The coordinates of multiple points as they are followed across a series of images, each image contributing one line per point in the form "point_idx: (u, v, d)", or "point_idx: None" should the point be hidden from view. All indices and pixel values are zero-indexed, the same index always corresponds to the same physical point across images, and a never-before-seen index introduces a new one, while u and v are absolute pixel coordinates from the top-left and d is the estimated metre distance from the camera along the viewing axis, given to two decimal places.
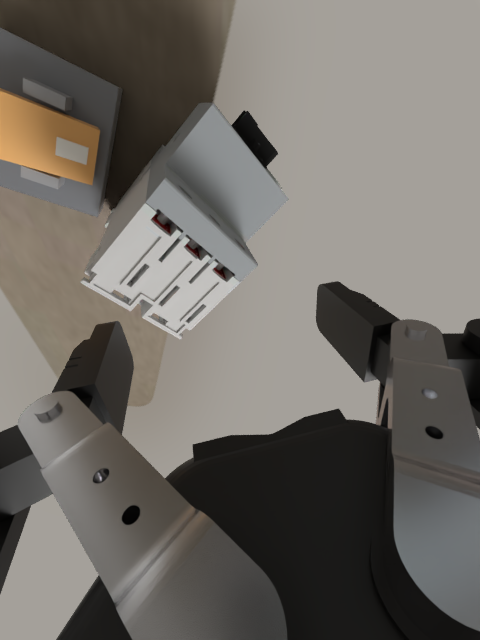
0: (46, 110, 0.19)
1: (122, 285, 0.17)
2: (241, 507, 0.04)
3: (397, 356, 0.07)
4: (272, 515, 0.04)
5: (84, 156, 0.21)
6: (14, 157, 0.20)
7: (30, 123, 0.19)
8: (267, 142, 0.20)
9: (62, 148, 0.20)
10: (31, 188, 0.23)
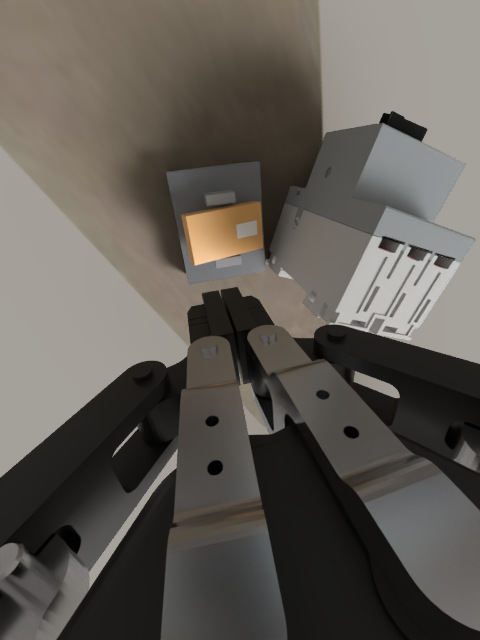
0: (225, 209, 0.23)
1: (359, 313, 0.19)
2: None
3: (270, 367, 0.07)
4: (271, 515, 0.04)
5: (255, 228, 0.25)
6: (214, 256, 0.24)
7: (219, 225, 0.23)
8: (416, 126, 0.21)
9: (241, 230, 0.24)
10: (216, 273, 0.28)
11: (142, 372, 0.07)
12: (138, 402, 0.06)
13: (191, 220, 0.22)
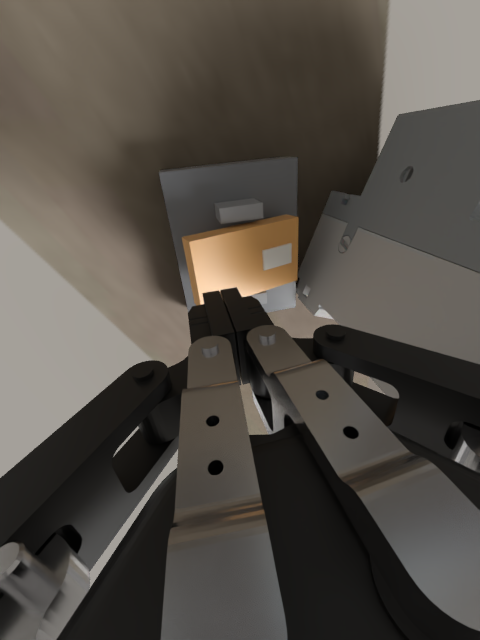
0: (248, 228, 0.16)
1: None
2: None
3: (270, 368, 0.07)
4: (272, 515, 0.04)
5: (288, 254, 0.17)
6: None
7: (239, 252, 0.16)
8: None
9: (269, 259, 0.17)
10: None
11: (143, 372, 0.07)
12: (139, 402, 0.06)
13: (197, 247, 0.14)
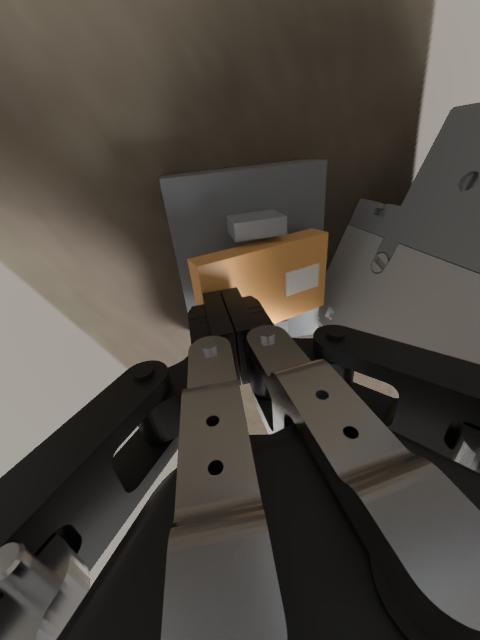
0: (269, 248, 0.13)
1: None
2: None
3: (270, 368, 0.07)
4: (272, 515, 0.04)
5: (315, 276, 0.14)
6: None
7: (257, 276, 0.13)
8: None
9: (293, 283, 0.14)
10: None
11: (142, 372, 0.07)
12: (139, 402, 0.06)
13: (207, 273, 0.12)
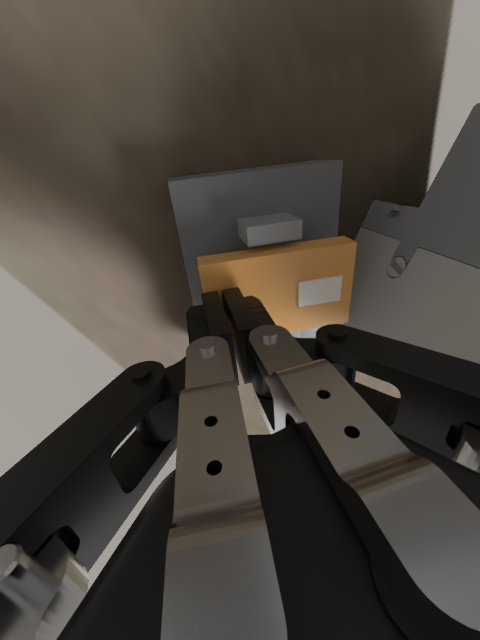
0: (281, 253, 0.12)
1: None
2: None
3: (271, 367, 0.07)
4: (271, 515, 0.04)
5: (337, 289, 0.13)
6: None
7: (264, 282, 0.12)
8: None
9: (307, 294, 0.13)
10: None
11: (140, 373, 0.07)
12: (137, 403, 0.06)
13: (209, 273, 0.12)
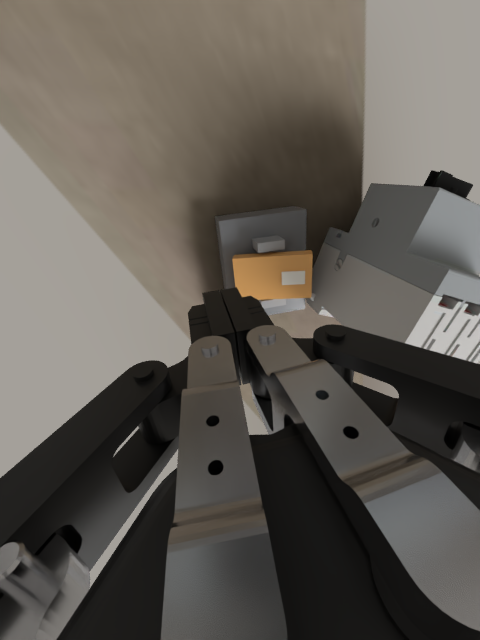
0: (273, 256, 0.24)
1: None
2: None
3: (269, 367, 0.07)
4: (271, 515, 0.04)
5: (302, 278, 0.25)
6: (256, 296, 0.26)
7: (264, 270, 0.25)
8: (463, 183, 0.22)
9: (286, 278, 0.25)
10: None
11: (143, 372, 0.07)
12: (139, 402, 0.06)
13: (237, 262, 0.25)
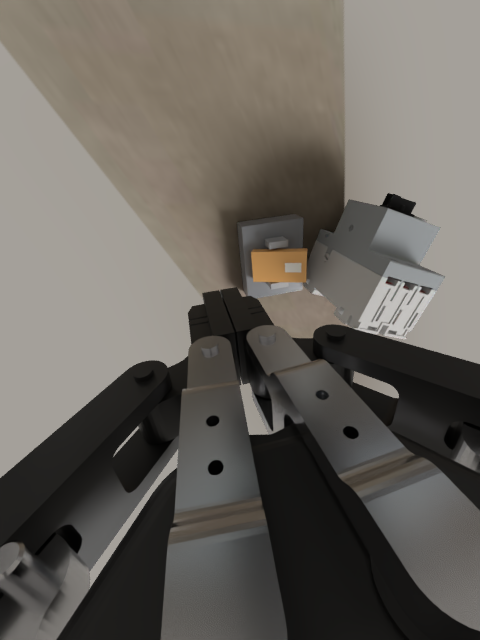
0: (279, 251, 0.35)
1: (372, 322, 0.31)
2: None
3: (269, 368, 0.07)
4: (272, 515, 0.04)
5: (299, 268, 0.35)
6: (267, 279, 0.37)
7: (272, 261, 0.35)
8: (409, 201, 0.32)
9: (288, 267, 0.35)
10: (268, 292, 0.40)
11: (143, 372, 0.07)
12: (139, 401, 0.06)
13: (254, 255, 0.36)
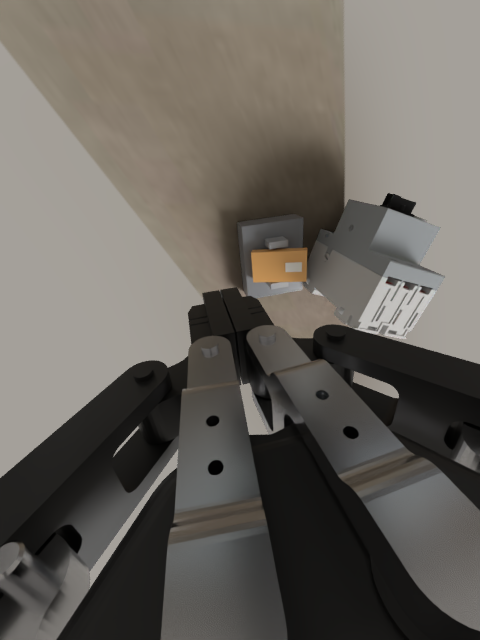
0: (279, 251, 0.35)
1: (372, 322, 0.31)
2: None
3: (269, 368, 0.07)
4: (271, 515, 0.04)
5: (300, 267, 0.35)
6: (267, 279, 0.37)
7: (273, 261, 0.35)
8: (409, 201, 0.32)
9: (288, 267, 0.35)
10: (268, 292, 0.40)
11: (143, 372, 0.07)
12: (139, 402, 0.06)
13: (254, 255, 0.35)
